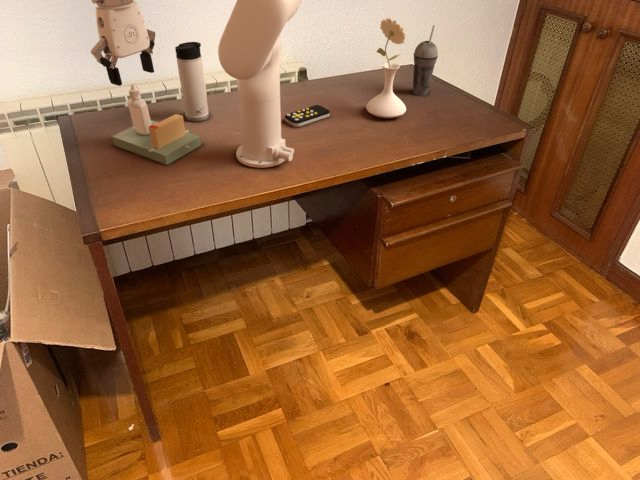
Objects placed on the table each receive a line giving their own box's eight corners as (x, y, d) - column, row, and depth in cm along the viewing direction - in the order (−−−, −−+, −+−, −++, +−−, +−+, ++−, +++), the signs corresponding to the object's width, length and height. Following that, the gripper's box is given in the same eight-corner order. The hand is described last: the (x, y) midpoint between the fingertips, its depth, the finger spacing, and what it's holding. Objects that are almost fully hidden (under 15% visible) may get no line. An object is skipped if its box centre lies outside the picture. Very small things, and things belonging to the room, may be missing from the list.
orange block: (179, 132, 123) (175, 112, 119) (185, 134, 122) (182, 114, 118) (152, 146, 117) (148, 126, 113) (159, 149, 116) (154, 128, 112)
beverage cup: (404, 89, 155) (413, 22, 143) (425, 87, 157) (435, 21, 145) (414, 98, 150) (424, 29, 137) (435, 96, 152) (447, 28, 139)
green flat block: (209, 146, 123) (208, 136, 121) (171, 168, 114) (169, 158, 112) (151, 126, 130) (150, 117, 129) (112, 146, 122) (109, 136, 120)
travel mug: (205, 123, 133) (194, 47, 121) (182, 120, 134) (169, 45, 122) (213, 113, 138) (204, 40, 125) (191, 111, 139) (180, 38, 126)
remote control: (331, 116, 138) (332, 110, 137) (296, 128, 131) (296, 121, 130) (318, 109, 142) (318, 102, 140) (282, 120, 135) (282, 114, 134)
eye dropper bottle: (135, 137, 120) (123, 89, 113) (134, 128, 124) (122, 81, 117) (153, 134, 121) (142, 87, 114) (151, 125, 125) (141, 79, 118)
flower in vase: (412, 118, 138) (426, 25, 123) (376, 124, 135) (386, 29, 119) (390, 101, 148) (401, 12, 132) (356, 106, 144) (363, 15, 129)
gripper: (92, 8, 96) (114, 93, 107) (157, -8, 108) (171, 69, 118) (67, 4, 99) (91, 86, 110) (133, -12, 111) (149, 64, 121)
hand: (133, 77), depth 114 cm, fingers open, 9 cm apart
